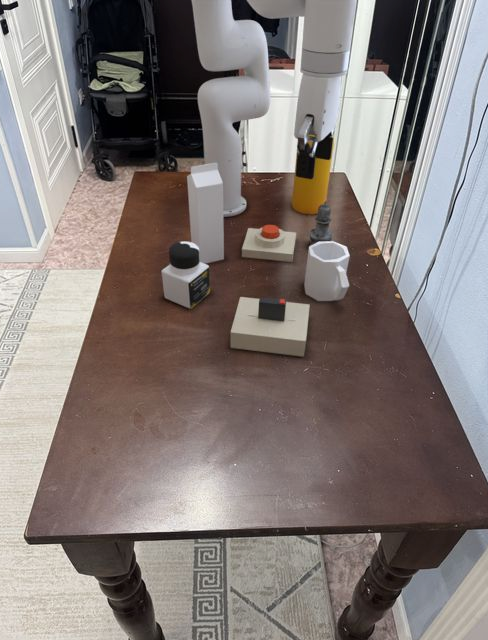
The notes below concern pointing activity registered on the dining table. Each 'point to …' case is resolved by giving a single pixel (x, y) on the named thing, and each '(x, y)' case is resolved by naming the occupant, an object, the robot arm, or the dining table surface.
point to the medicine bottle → (185, 275)
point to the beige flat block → (270, 329)
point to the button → (270, 231)
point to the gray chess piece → (321, 225)
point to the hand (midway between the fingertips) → (313, 167)
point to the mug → (327, 271)
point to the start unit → (269, 245)
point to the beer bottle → (312, 187)
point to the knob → (272, 309)
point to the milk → (206, 211)
